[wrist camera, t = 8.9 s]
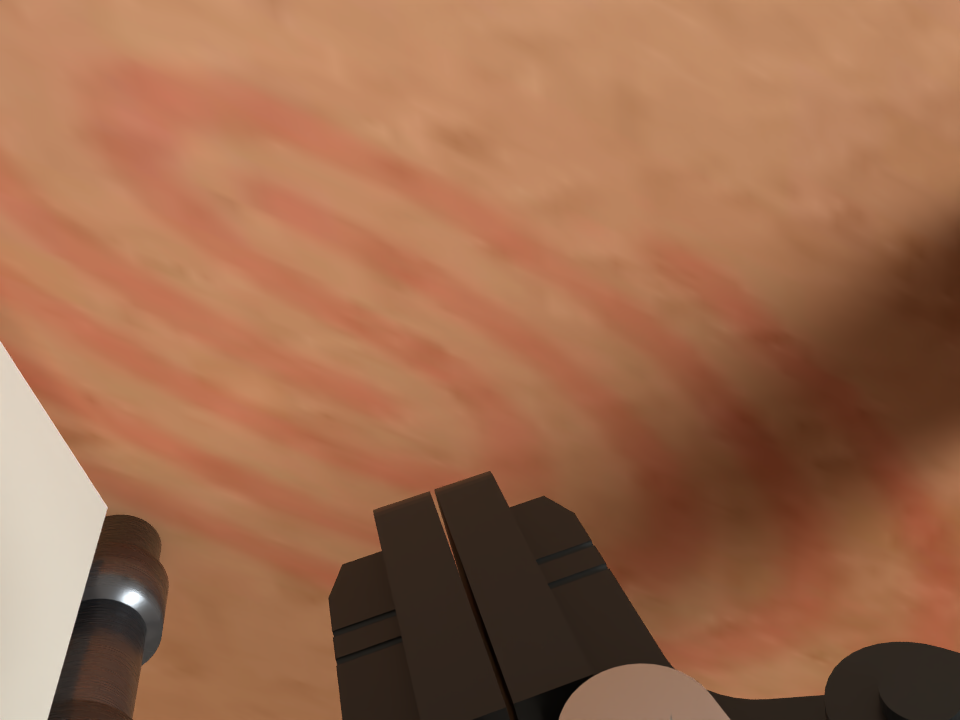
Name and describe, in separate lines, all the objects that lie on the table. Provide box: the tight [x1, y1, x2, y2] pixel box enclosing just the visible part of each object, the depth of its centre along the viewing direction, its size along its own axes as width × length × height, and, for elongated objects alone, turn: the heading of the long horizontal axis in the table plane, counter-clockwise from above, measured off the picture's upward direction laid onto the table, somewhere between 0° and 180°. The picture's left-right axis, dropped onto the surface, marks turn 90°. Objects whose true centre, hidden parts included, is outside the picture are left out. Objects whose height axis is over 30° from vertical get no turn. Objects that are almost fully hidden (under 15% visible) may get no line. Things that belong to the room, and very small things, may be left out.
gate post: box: [47, 515, 169, 720], centre depth 20 cm, size 3×3×14 cm
